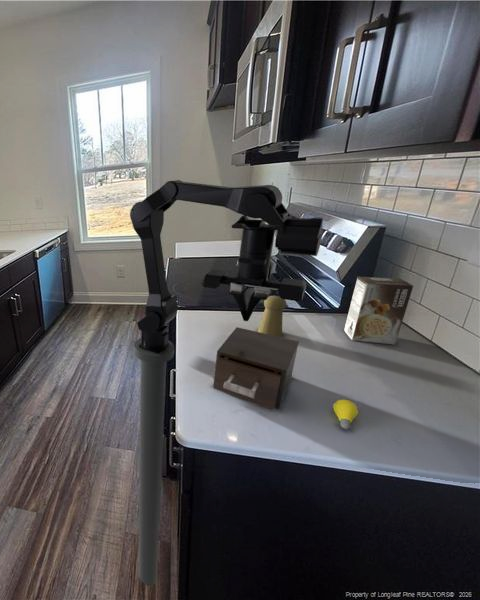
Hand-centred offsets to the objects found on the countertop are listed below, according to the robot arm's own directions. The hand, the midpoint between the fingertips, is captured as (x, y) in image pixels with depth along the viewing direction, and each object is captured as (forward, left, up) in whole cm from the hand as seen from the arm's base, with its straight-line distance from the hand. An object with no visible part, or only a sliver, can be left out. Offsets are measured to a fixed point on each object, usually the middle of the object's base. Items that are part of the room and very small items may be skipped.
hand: (246, 320), depth 70 cm
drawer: (+4, -7, -12) cm, 15 cm away
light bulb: (+20, -6, -13) cm, 24 cm away
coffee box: (+23, +35, -13) cm, 44 cm away
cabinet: (+4, -3, -13) cm, 14 cm away
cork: (+1, +24, -13) cm, 28 cm away
